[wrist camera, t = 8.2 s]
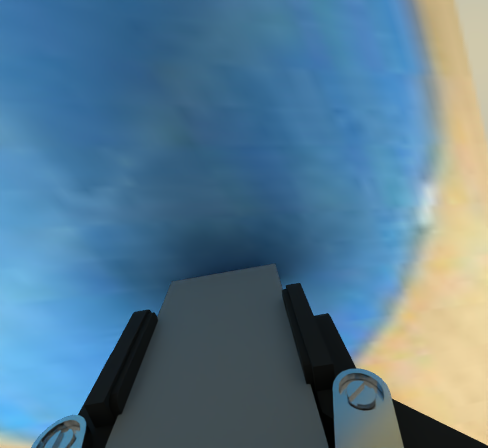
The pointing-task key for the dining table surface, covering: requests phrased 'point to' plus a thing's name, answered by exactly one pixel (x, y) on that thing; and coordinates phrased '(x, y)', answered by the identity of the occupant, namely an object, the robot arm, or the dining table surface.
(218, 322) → the charcoal domino
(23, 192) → the dining table surface
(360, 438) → the robot arm
